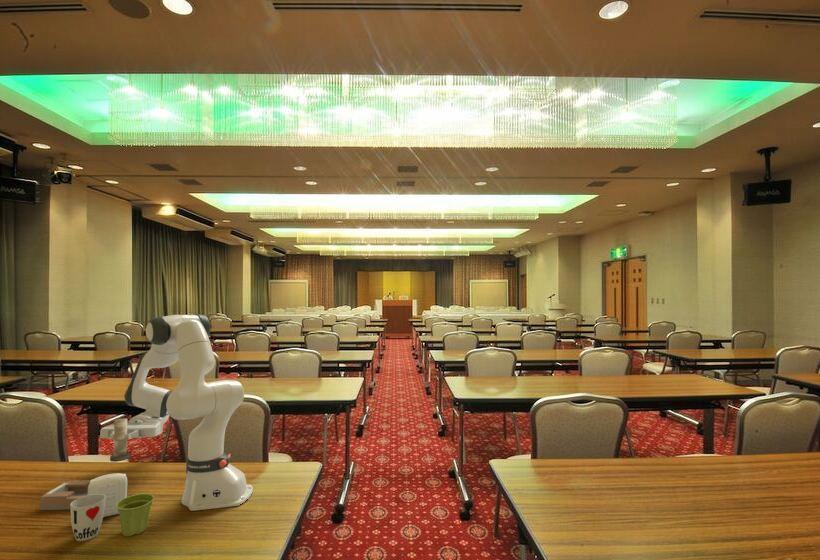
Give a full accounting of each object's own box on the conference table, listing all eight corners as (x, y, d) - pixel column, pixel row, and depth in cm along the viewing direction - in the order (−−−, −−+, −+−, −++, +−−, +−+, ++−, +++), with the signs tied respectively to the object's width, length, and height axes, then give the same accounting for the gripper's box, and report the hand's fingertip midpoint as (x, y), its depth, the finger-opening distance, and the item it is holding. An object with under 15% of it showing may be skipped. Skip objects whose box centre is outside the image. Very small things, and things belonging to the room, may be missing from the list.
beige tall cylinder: (133, 454, 159) (133, 417, 159) (123, 461, 153) (124, 422, 153) (116, 455, 158) (117, 417, 159) (106, 461, 152) (107, 422, 153)
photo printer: (126, 507, 138) (127, 468, 138) (126, 513, 134) (127, 473, 134) (86, 516, 132) (88, 476, 132) (85, 522, 128) (87, 481, 129)
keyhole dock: (115, 491, 148) (115, 479, 149) (92, 508, 136) (92, 495, 137) (67, 492, 147) (68, 480, 147) (39, 510, 135) (40, 496, 136)
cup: (64, 546, 116) (66, 509, 116) (74, 531, 123) (75, 496, 124) (100, 540, 119) (101, 504, 119) (107, 525, 126) (108, 491, 127)
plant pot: (160, 523, 128) (161, 494, 128) (136, 541, 119) (137, 510, 119) (133, 521, 129) (134, 492, 130) (106, 538, 120) (107, 507, 120)
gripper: (113, 418, 168) (89, 429, 154) (166, 417, 170) (147, 427, 156) (113, 434, 168) (89, 446, 154) (166, 433, 169) (147, 445, 155)
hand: (119, 437), depth 155 cm, fingers closed on beige tall cylinder, 4 cm apart
